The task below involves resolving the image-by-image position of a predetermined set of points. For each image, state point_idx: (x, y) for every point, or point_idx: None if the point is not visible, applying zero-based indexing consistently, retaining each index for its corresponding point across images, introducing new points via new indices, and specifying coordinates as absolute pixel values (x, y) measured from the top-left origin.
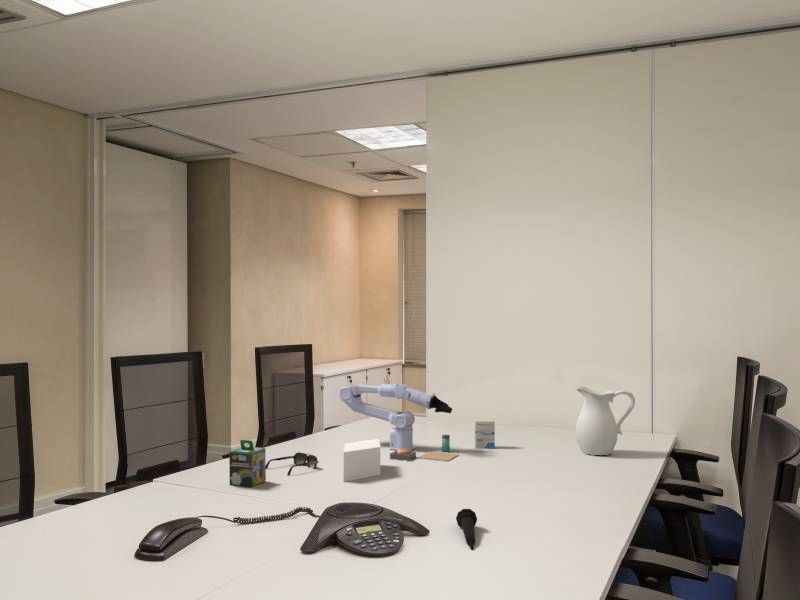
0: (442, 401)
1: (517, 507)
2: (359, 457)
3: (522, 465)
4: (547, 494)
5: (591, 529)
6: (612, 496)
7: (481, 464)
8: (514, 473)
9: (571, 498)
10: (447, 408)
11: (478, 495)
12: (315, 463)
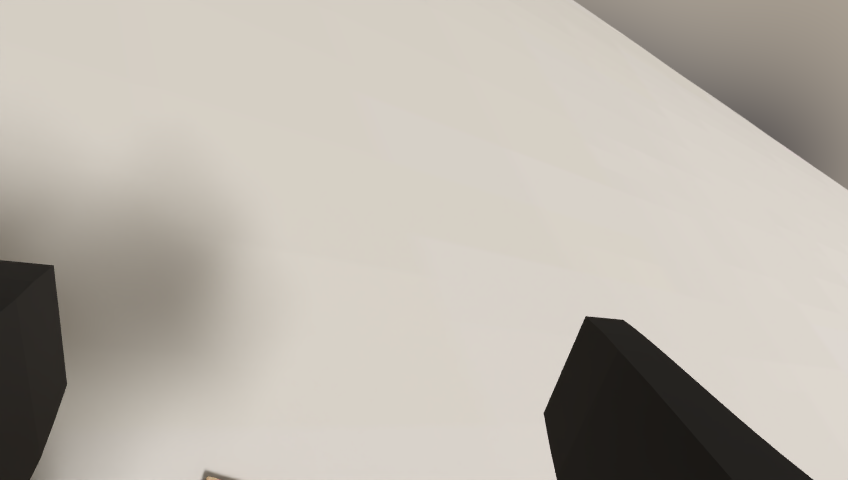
0: (783, 457)
1: (837, 288)
2: None
3: (406, 128)
4: (712, 191)
5: (826, 197)
6: (637, 70)
7: (466, 316)
8: (560, 205)
9: (704, 153)
10: (563, 386)
11: (845, 374)
12: None
